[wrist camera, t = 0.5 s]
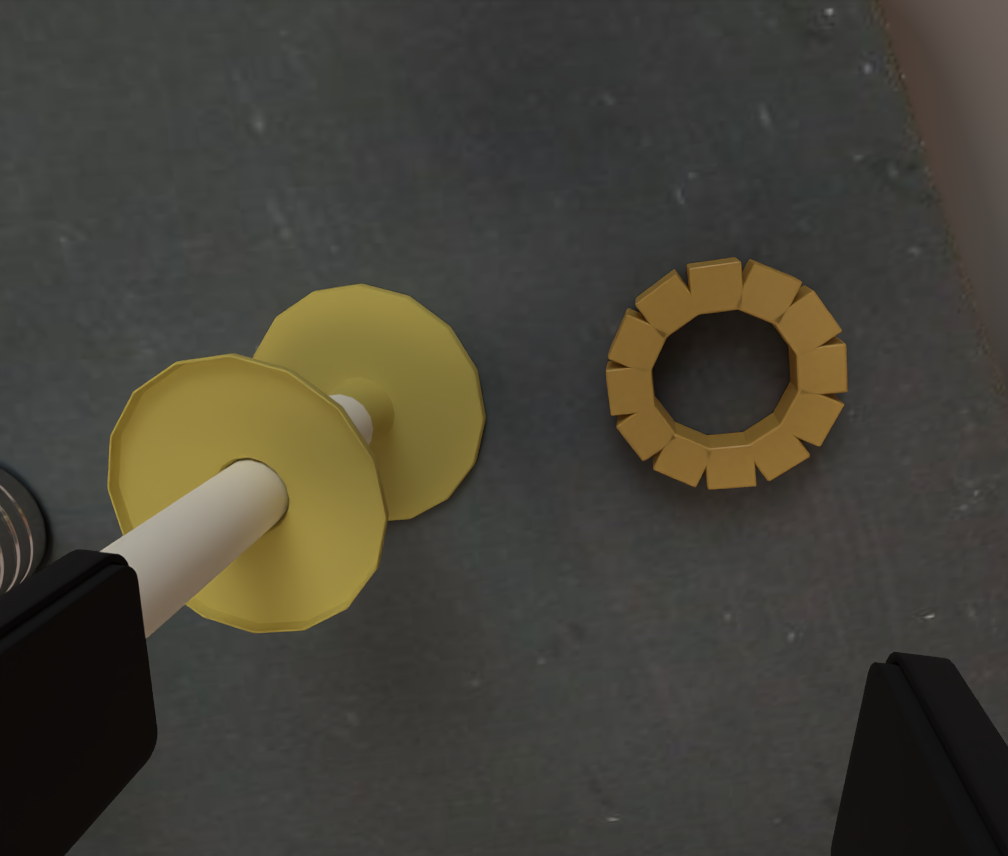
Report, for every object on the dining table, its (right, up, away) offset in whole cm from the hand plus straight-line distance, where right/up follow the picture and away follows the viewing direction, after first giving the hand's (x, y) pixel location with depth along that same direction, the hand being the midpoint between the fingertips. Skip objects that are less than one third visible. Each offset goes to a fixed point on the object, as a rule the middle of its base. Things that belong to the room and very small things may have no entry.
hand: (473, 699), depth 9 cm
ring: (+8, +6, +18) cm, 21 cm away
